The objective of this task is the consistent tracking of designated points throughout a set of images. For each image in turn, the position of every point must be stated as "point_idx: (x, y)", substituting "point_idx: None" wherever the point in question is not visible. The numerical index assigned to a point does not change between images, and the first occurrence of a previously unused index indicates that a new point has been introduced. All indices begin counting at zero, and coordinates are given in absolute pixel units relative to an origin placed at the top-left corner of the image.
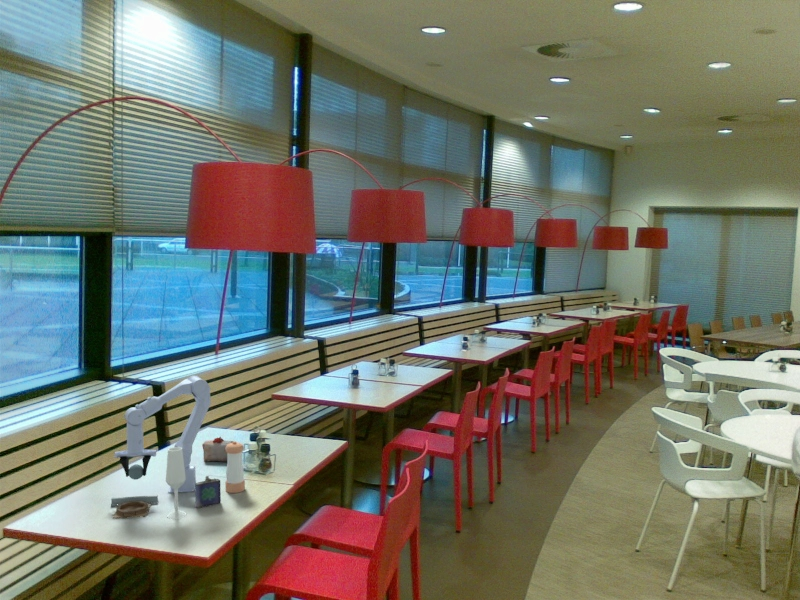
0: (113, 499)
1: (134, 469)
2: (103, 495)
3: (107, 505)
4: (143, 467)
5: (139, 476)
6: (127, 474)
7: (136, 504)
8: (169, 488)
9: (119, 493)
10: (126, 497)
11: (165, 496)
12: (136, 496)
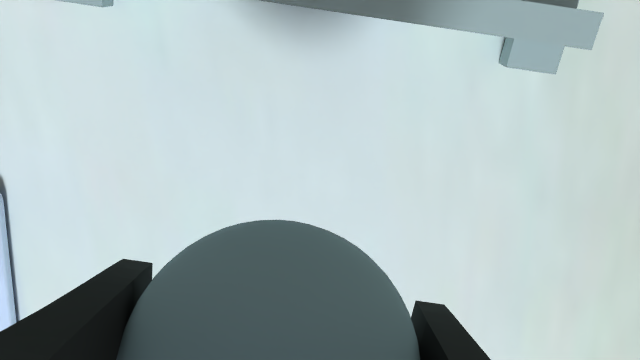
0: (573, 8)
1: (284, 338)
2: (603, 308)
3: (606, 25)
4: (45, 354)
5: (210, 234)
6: (432, 321)
7: None
8: (4, 276)
9: (462, 313)
10: (414, 2)
11: (13, 111)
12: (288, 3)
